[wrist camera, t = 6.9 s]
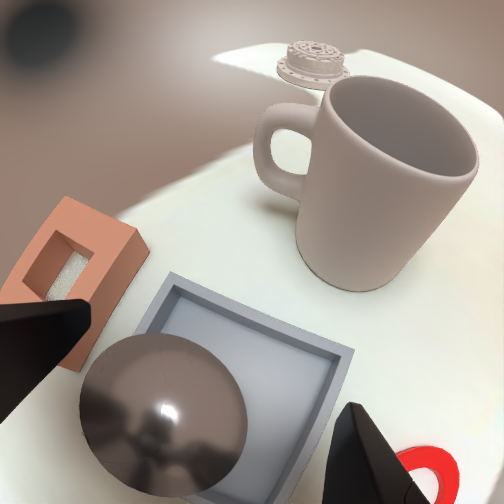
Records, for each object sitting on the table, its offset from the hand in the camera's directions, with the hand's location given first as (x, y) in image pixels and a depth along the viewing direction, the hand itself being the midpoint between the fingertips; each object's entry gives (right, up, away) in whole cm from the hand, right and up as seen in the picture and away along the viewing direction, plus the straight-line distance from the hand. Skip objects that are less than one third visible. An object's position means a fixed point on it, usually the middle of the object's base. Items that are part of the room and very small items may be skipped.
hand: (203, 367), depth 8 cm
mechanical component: (+10, +27, +26) cm, 39 cm away
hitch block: (-11, +1, +10) cm, 15 cm away
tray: (0, -5, +7) cm, 9 cm away
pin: (-1, -5, +6) cm, 8 cm away
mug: (+7, +5, +13) cm, 16 cm away
